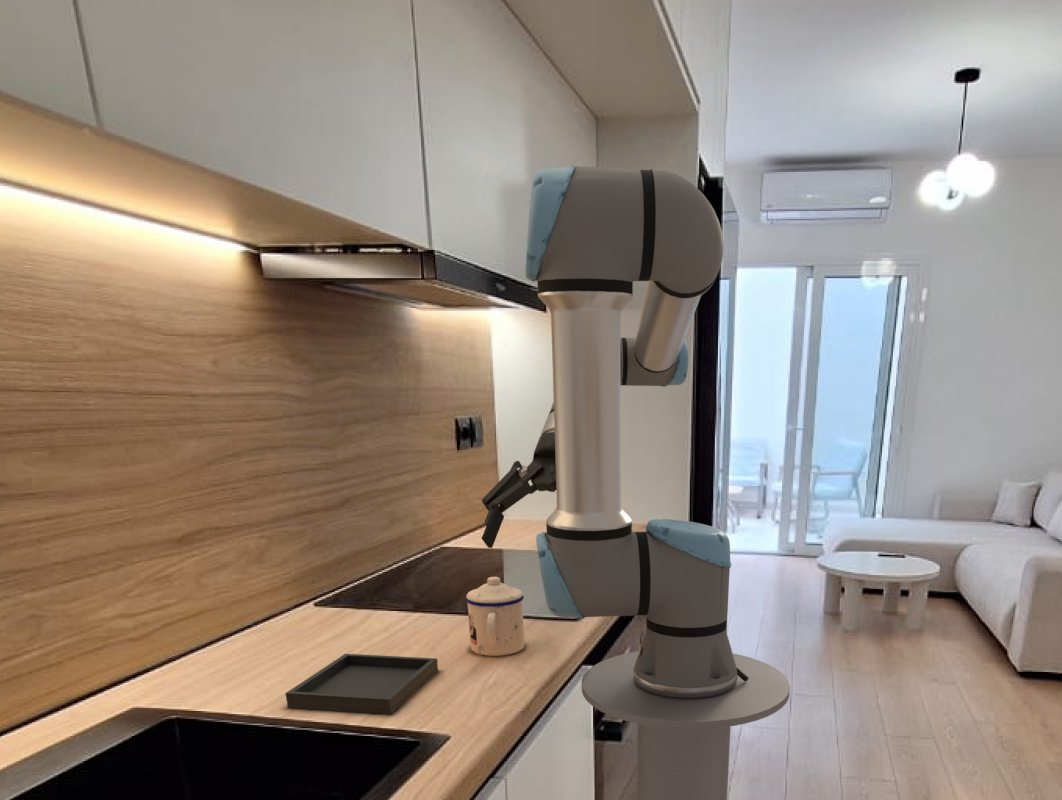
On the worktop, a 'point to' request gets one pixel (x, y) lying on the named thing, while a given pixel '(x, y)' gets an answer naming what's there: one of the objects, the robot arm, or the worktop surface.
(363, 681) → the base pad
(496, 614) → the teacup with lid
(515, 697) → the worktop surface
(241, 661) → the worktop surface
